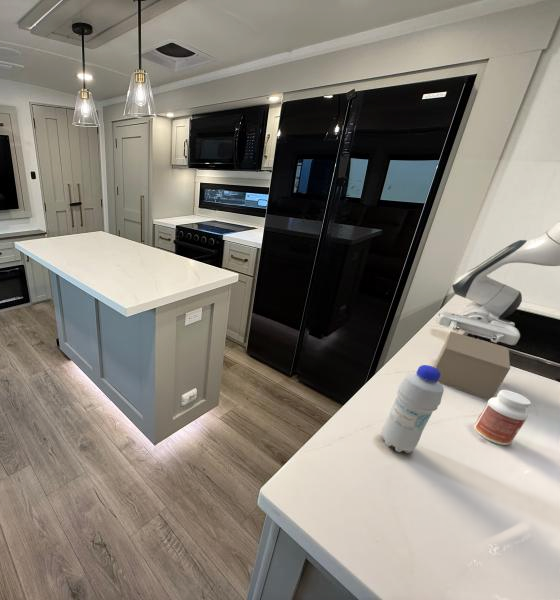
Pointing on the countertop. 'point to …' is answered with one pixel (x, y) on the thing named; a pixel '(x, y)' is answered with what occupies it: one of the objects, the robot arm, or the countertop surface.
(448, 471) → the countertop surface
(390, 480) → the countertop surface
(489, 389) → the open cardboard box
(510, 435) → the pill bottle
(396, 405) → the bottle
